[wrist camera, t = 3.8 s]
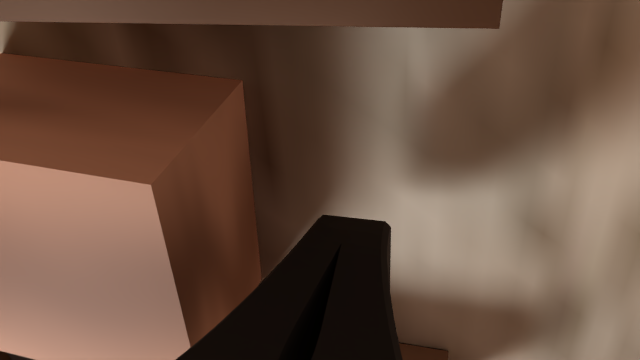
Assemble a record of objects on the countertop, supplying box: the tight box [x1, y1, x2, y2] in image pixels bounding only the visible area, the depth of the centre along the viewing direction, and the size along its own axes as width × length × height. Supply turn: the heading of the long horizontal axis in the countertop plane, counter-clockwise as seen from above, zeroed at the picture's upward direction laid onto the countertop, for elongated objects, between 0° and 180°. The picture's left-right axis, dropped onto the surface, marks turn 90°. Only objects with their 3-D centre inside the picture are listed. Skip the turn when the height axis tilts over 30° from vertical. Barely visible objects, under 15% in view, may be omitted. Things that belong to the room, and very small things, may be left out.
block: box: [0, 53, 262, 360], centre depth 12 cm, size 6×6×4 cm
